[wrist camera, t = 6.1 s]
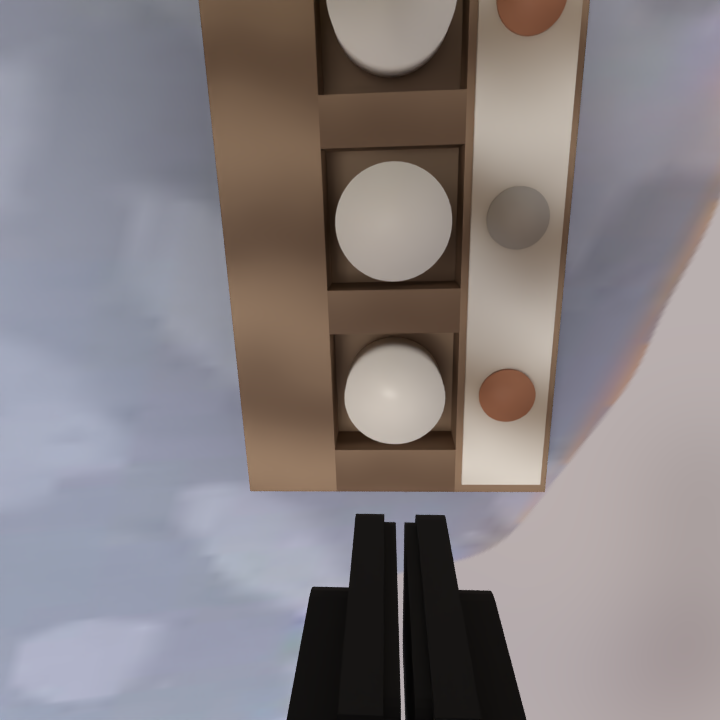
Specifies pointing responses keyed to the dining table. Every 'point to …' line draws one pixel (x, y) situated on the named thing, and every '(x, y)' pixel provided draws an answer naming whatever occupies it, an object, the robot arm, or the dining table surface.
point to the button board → (416, 295)
